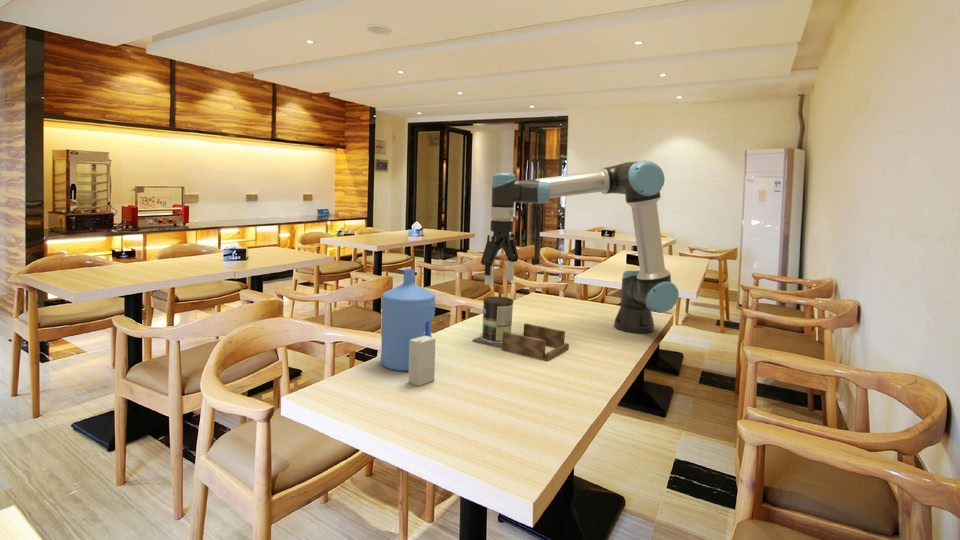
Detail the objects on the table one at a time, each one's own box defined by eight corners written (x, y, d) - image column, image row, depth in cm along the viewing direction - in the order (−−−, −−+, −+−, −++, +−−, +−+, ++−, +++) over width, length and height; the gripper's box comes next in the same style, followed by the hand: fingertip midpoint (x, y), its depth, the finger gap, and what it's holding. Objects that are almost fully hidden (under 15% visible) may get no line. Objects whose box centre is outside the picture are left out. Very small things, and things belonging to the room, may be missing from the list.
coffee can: (480, 342, 177) (481, 301, 174) (483, 334, 187) (484, 295, 185) (510, 344, 176) (512, 303, 173) (512, 336, 186) (513, 297, 184)
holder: (568, 349, 175) (569, 332, 174) (547, 361, 162) (549, 342, 161) (524, 339, 184) (525, 323, 183) (501, 350, 171) (502, 332, 170)
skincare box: (423, 376, 144) (424, 334, 143) (435, 381, 142) (436, 338, 140) (407, 382, 140) (407, 338, 138) (418, 387, 137) (419, 342, 135)
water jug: (390, 375, 145) (391, 275, 140) (374, 358, 158) (375, 266, 154) (442, 368, 152) (444, 273, 148) (422, 352, 166) (424, 265, 161)
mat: (519, 340, 183) (520, 338, 183) (502, 348, 173) (502, 346, 173) (491, 334, 189) (491, 332, 189) (472, 341, 180) (472, 339, 180)
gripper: (491, 221, 163) (488, 288, 166) (529, 219, 183) (526, 279, 186) (471, 220, 167) (469, 285, 170) (511, 218, 187) (508, 276, 190)
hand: (499, 282), depth 178 cm, fingers open, 13 cm apart
